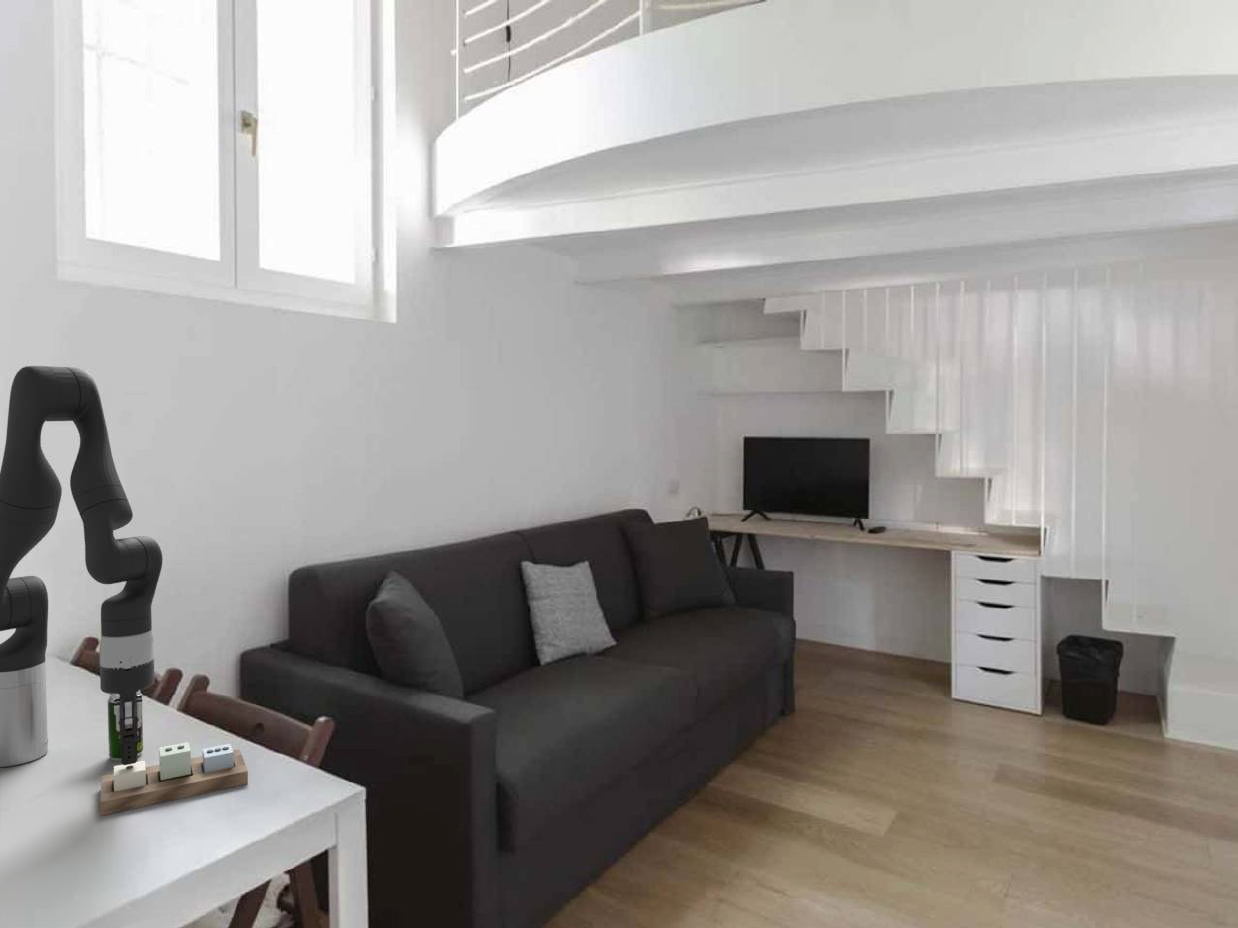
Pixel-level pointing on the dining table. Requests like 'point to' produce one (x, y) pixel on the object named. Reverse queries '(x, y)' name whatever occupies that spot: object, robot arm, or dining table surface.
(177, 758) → the two dot key
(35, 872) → the dining table surface
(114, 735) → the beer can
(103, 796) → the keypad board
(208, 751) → the three dot key
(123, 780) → the one dot key
